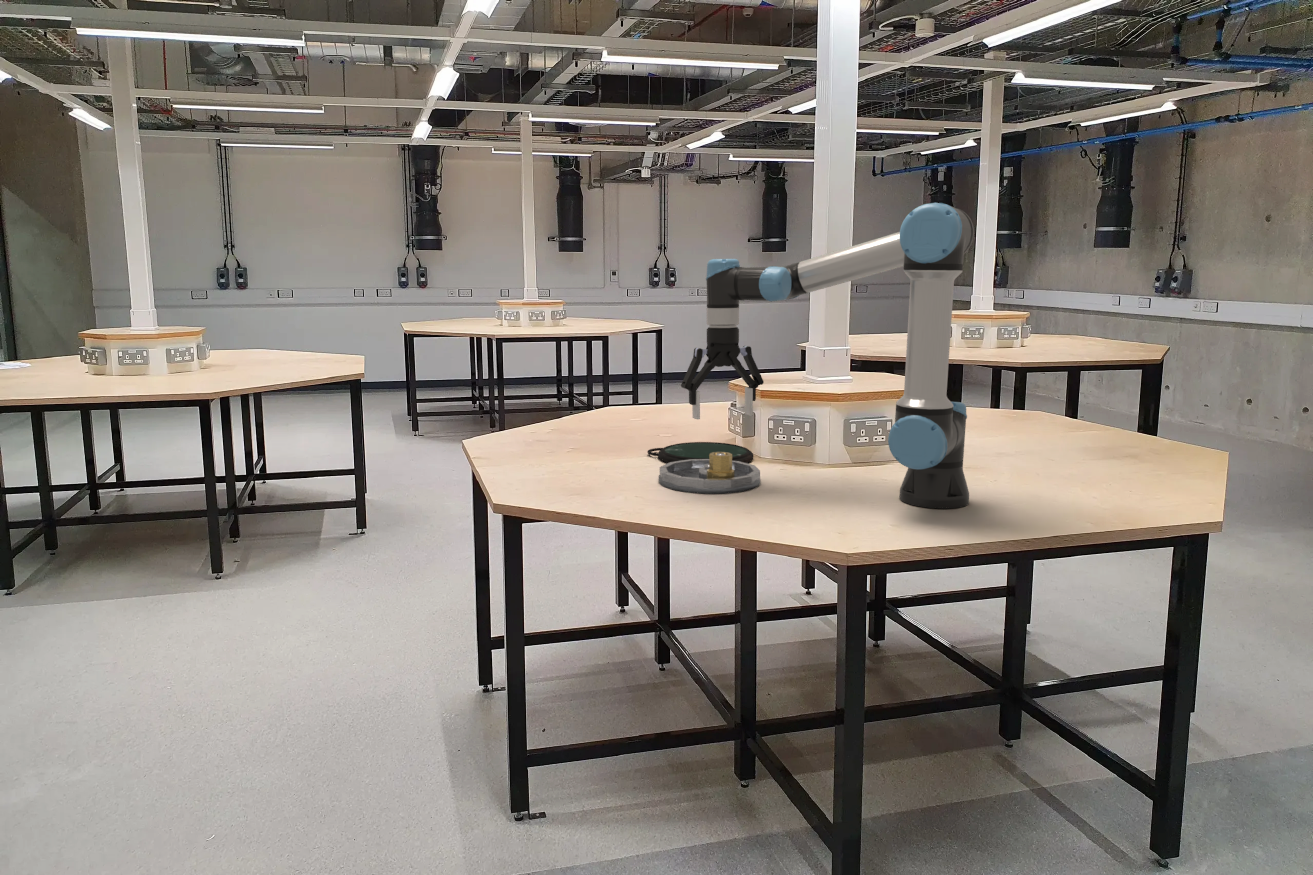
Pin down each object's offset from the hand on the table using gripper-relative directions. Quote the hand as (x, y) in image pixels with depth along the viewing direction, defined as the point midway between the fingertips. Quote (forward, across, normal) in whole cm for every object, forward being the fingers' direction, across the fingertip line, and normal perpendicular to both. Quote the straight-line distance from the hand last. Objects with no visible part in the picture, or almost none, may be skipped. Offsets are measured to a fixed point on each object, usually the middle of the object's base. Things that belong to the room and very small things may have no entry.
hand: (722, 416), depth 218 cm
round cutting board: (+18, -9, -35) cm, 40 cm away
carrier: (+17, 0, -7) cm, 18 cm away
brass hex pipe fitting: (+16, 0, 0) cm, 16 cm away
